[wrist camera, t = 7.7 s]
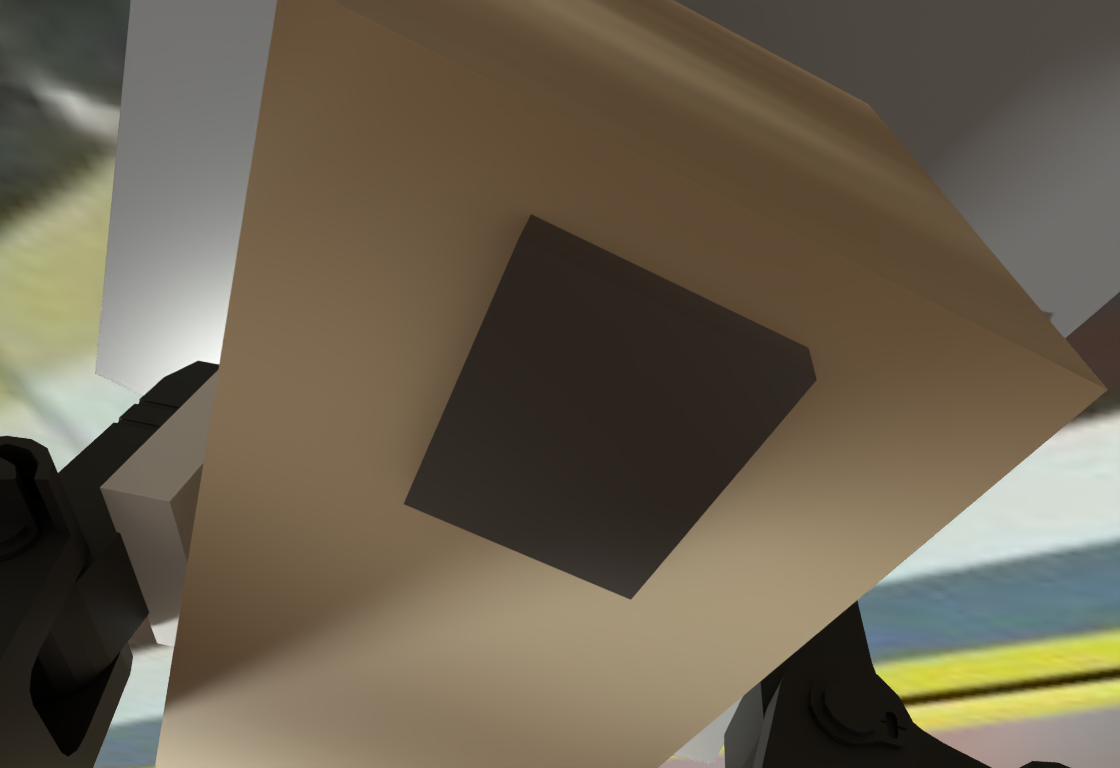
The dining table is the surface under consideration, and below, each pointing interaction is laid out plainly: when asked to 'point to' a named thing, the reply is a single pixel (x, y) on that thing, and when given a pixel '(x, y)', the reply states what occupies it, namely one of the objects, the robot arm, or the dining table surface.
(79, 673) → the robot arm
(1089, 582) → the dining table surface
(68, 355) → the dining table surface
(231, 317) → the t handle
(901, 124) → the lock base
